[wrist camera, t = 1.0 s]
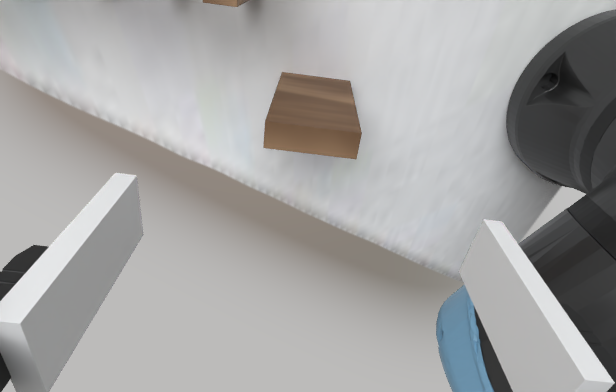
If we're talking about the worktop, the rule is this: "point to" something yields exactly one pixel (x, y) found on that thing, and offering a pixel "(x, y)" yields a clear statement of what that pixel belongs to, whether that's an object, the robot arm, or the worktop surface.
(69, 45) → the worktop surface
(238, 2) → the domino
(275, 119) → the loose domino
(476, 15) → the worktop surface
